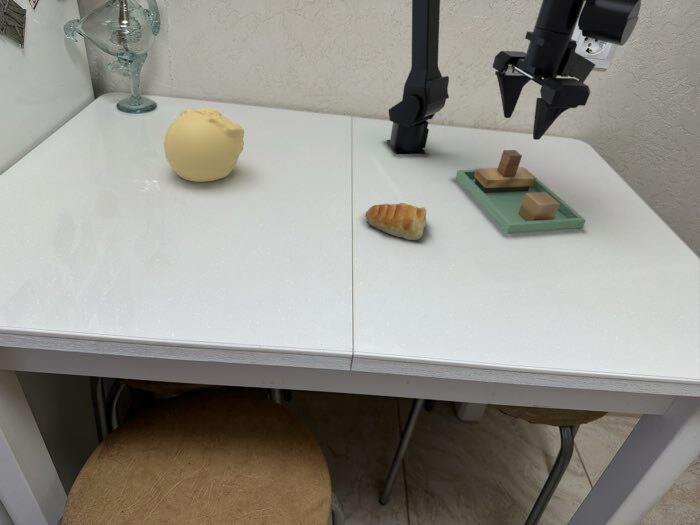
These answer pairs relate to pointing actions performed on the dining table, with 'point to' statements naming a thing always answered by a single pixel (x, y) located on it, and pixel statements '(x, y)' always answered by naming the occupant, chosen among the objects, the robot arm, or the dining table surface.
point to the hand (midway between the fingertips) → (521, 128)
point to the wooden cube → (538, 207)
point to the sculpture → (203, 145)
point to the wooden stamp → (505, 175)
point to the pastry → (398, 219)
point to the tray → (509, 203)
